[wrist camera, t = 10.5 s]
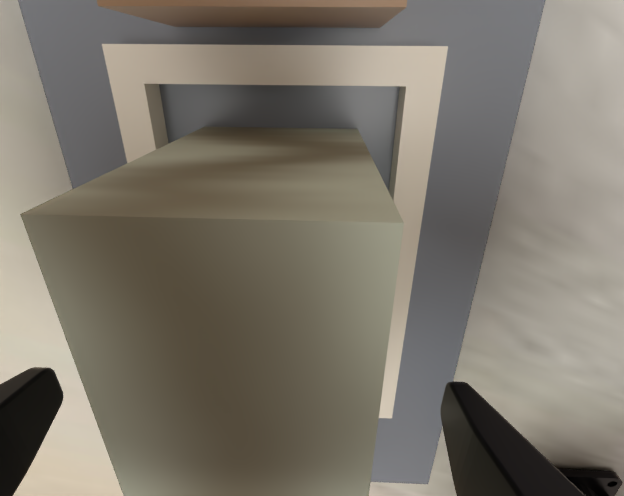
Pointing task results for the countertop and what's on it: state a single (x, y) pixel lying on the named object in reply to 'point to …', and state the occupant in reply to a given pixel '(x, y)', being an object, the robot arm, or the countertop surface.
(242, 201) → the sage block
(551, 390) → the countertop surface
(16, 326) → the countertop surface
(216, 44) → the board
